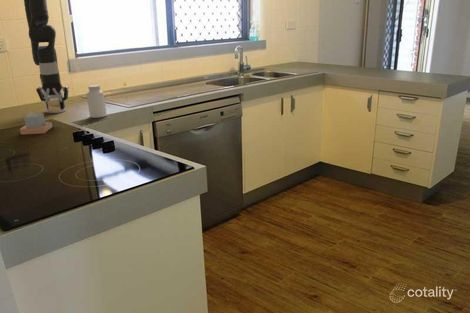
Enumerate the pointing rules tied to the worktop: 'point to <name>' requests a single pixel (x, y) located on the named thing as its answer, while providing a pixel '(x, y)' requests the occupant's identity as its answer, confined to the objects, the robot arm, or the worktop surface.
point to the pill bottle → (96, 102)
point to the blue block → (34, 120)
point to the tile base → (36, 129)
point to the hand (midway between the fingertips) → (56, 109)
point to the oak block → (54, 105)
